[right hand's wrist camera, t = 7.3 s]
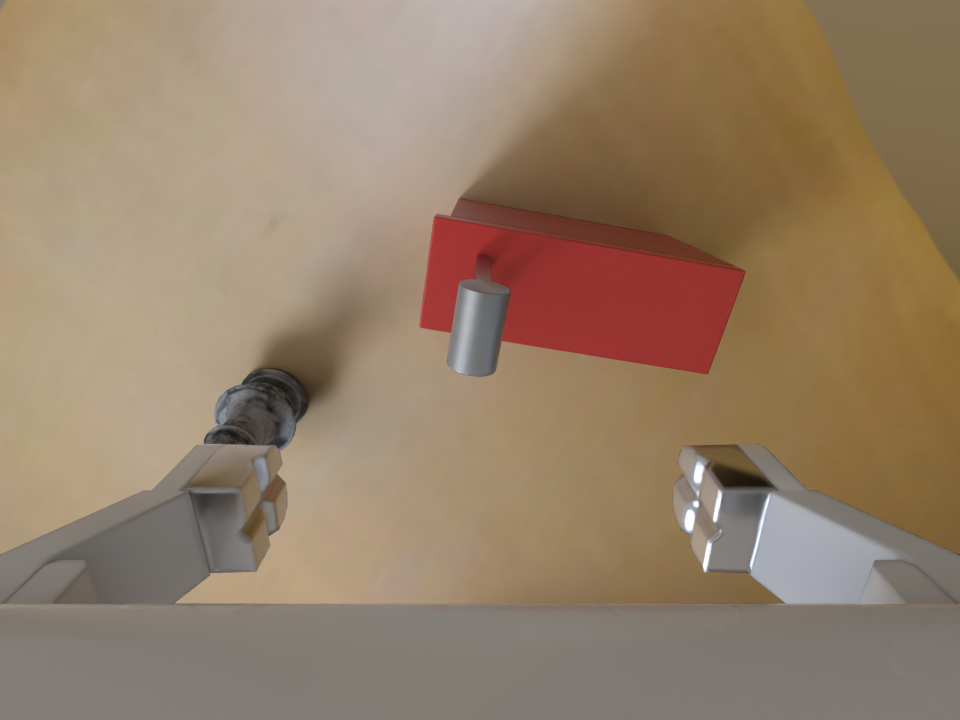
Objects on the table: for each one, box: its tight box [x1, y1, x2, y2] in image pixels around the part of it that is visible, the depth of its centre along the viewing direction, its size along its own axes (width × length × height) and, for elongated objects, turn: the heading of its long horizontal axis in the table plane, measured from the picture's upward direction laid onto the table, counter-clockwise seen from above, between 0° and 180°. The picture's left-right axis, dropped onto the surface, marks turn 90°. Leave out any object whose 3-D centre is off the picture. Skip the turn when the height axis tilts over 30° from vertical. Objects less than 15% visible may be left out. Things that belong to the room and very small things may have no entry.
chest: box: [451, 199, 734, 266], centre depth 32 cm, size 15×6×10 cm, turn 80°
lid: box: [419, 214, 745, 377], centre depth 23 cm, size 16×6×9 cm, turn 80°
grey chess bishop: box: [204, 369, 307, 450], centre depth 35 cm, size 6×6×12 cm
